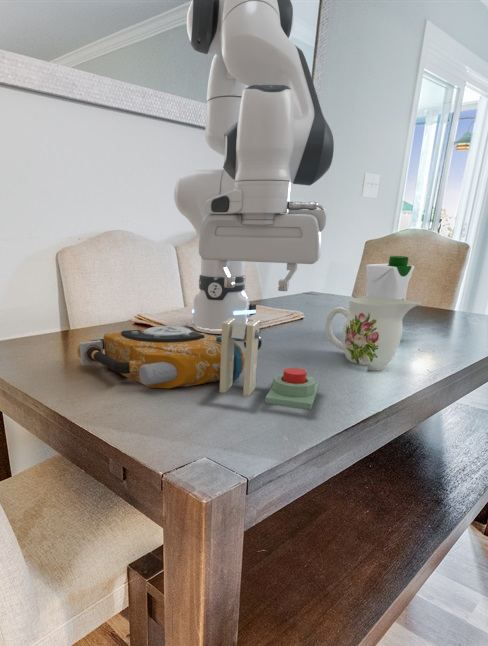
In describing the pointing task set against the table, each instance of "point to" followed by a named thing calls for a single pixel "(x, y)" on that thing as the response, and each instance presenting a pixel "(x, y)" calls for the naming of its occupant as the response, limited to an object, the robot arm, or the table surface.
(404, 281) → the milk carton
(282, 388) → the button box
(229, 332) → the bracket
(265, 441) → the table surface
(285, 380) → the button
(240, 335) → the lever
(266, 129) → the robot arm
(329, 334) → the pitcher
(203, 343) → the device
